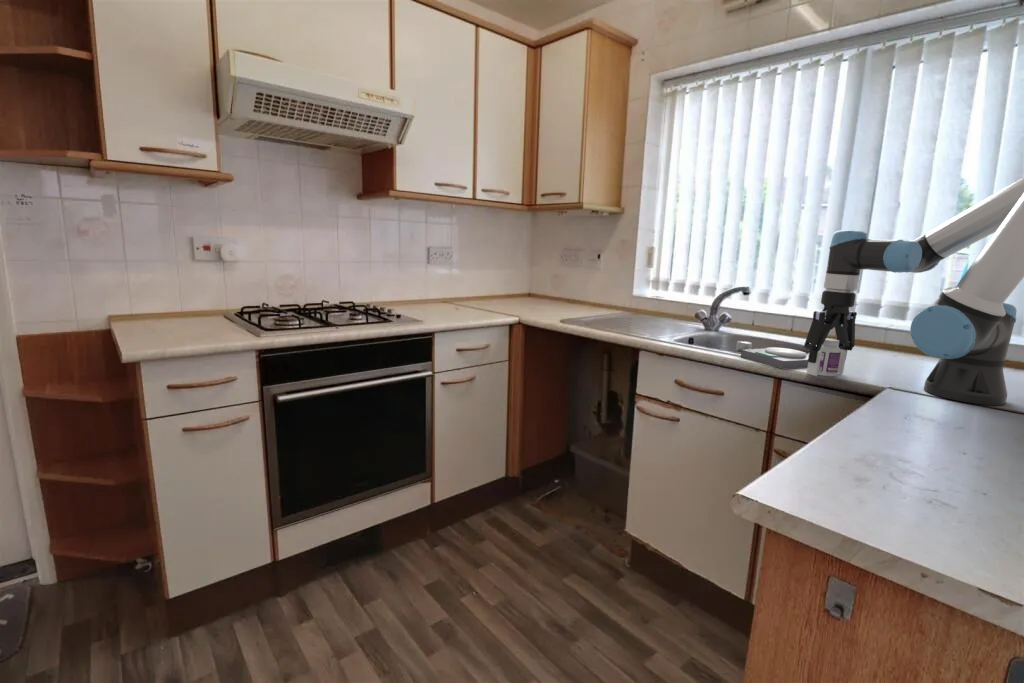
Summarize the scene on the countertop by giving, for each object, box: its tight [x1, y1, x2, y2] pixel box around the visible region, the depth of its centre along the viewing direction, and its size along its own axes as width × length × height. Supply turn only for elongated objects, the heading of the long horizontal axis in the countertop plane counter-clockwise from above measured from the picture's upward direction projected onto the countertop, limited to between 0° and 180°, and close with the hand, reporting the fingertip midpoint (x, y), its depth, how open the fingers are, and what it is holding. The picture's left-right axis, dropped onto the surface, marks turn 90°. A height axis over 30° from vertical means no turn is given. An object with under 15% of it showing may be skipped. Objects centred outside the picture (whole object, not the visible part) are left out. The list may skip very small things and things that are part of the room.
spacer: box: [735, 340, 753, 353], centre depth 167 cm, size 4×4×3 cm
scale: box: [740, 346, 809, 370], centre depth 155 cm, size 16×15×3 cm
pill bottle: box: [818, 337, 841, 378], centre depth 140 cm, size 5×5×10 cm
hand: (824, 373), depth 141 cm, fingers open, 9 cm apart
